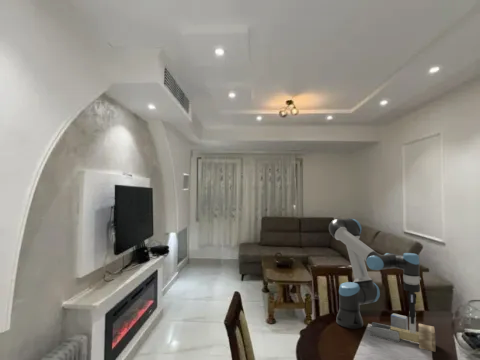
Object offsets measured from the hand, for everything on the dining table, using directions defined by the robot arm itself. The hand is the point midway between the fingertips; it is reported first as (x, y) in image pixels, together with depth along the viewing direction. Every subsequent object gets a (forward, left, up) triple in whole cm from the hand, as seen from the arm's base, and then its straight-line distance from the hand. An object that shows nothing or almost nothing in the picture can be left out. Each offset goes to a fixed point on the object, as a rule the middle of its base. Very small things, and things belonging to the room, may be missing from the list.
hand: (412, 328), depth 155 cm
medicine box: (-7, +12, -8) cm, 16 cm away
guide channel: (-13, 0, -8) cm, 15 cm away
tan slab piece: (-1, 0, -6) cm, 6 cm away
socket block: (+6, 0, -8) cm, 10 cm away
